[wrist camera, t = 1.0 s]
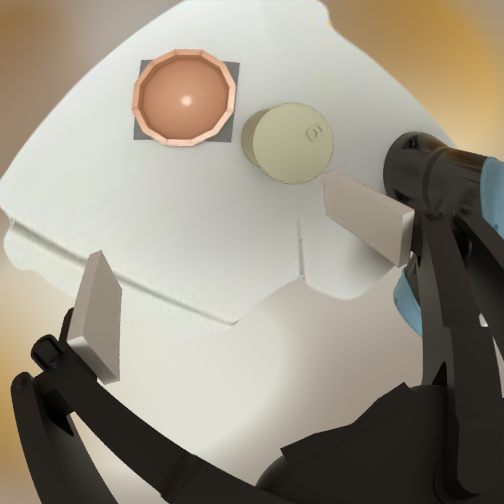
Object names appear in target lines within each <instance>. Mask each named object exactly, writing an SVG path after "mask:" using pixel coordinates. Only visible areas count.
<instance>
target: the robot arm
mask: <svg viewBox="0 0 504 504" xmlns="http://www.w3.org/2000/svg"><path fill="white" fill-rule="evenodd" d="M322 178H323V187H324V196H325V206H326V215H327V216H328V217H330V218H331V219H332V220H334V221H335V222H337V223H338V224H340V225H341V226H343V227H344V228H345V229H347V230H348V231H350V232H351V233H352V234H354V235H355V236H357V237H358V238H359V239H361V240H362V241H363V242H365V243H366V244H368V245H369V246H370V247H372V248H373V249H374V250H376V251H377V252H378V253H380V254H381V255H382V256H384V257H385V258H386V259H388V260H389V261H390V262H392V263H393V264H394V265H396V266H397V267H398V268H399V267H401V266H402V265H405V264H407V263H408V264H407V266H406V267H404V269H403V271H402V275H401V277H400V279H399V281H398V283H397V285H396V287H395V289H394V293H393V298H394V303H395V305H396V307H397V309H398V311H399V313H400V314H401V316H402V317H403V319H404V320H405V321H406V322H407V323H408V325H409V326H410V327H411V328H412V329H413V330H414V331H415V332H416V333H417V334H419V335H420V336H421V337H422V339H423V378H422V384H421V385H420V386H415V387H411V388H409V387H408V386H407V385H406V384H405V383H404V382H403V383H402V384H400V385H399V386H398V387H396V388H394V389H393V390H391V391H390V392H388V393H387V394H385V395H383V396H382V397H380V398H379V399H377V400H376V401H375V402H374V403H373V404H372V406H370V407H369V408H368V409H367V410H366V411H365V412H364V413H363V414H362V415H361V416H360V417H359V418H358V419H357V420H356V421H355V422H354V423H352V424H350V425H347V426H343V427H339V428H336V429H332V430H328V431H323V432H319V433H315V434H312V435H310V436H308V437H306V438H304V439H301V440H299V441H297V442H295V443H292V444H290V445H287V446H285V447H283V448H280V449H281V452H282V454H283V455H282V456H281V457H280V458H278V459H277V460H276V461H274V462H273V463H272V464H271V465H270V466H269V467H268V468H267V469H266V470H265V472H264V473H263V474H262V475H261V477H260V478H259V480H258V482H257V484H256V486H252V485H250V484H248V483H246V482H244V481H242V480H240V479H238V478H236V477H234V476H232V475H230V474H228V473H226V472H225V471H222V470H221V469H219V468H217V467H215V466H214V465H212V464H210V463H208V462H206V461H205V460H203V459H201V458H199V457H198V456H196V455H194V454H191V453H189V452H188V451H186V450H185V449H183V448H181V447H180V446H178V445H177V444H175V443H174V442H172V441H171V440H169V439H168V438H167V437H165V436H164V435H162V434H161V433H159V432H158V431H157V430H155V429H154V428H152V427H151V426H150V425H148V424H147V423H146V422H144V421H143V420H142V419H140V418H139V417H138V416H137V415H135V414H134V413H133V412H132V411H130V410H129V409H128V408H127V407H125V406H124V405H123V404H122V403H120V402H119V401H118V400H117V399H116V398H115V397H113V396H112V395H111V394H110V393H109V392H108V391H107V390H105V389H104V388H103V387H102V386H101V385H100V384H99V383H98V382H97V377H98V378H99V379H100V380H101V381H102V382H103V384H105V385H106V384H109V383H113V382H117V381H120V375H119V374H120V371H119V345H120V344H119V343H120V342H119V341H120V314H121V297H122V288H121V287H120V285H119V283H118V281H117V279H116V278H115V276H114V274H113V272H112V270H111V268H110V266H109V264H108V262H107V260H106V259H105V257H104V255H103V253H102V251H101V250H100V251H98V252H95V253H93V254H90V255H89V258H88V261H87V264H86V267H85V271H84V274H83V277H82V281H81V284H80V288H79V291H78V295H77V298H76V302H75V306H74V307H73V308H71V309H69V311H68V312H67V314H66V315H65V317H64V321H63V324H62V325H63V326H62V328H61V333H60V337H59V341H57V339H56V338H55V337H54V336H53V335H51V334H49V335H45V336H43V337H41V338H40V339H39V340H37V342H36V343H35V344H34V346H33V348H32V350H31V358H32V359H33V360H34V361H35V363H37V365H38V366H39V367H40V368H41V369H42V370H43V371H44V372H42V373H41V374H39V375H38V376H36V377H34V378H33V377H32V376H31V375H30V374H29V373H28V372H22V373H20V374H18V375H17V376H16V377H15V378H14V380H13V382H12V385H11V397H12V403H13V409H14V414H15V419H16V423H17V428H18V432H19V436H20V440H21V444H22V448H23V452H24V455H25V458H26V462H27V465H28V468H29V471H30V474H31V477H32V480H33V482H34V485H35V488H36V490H37V493H38V496H39V498H40V500H41V503H42V504H118V503H117V501H116V500H115V498H114V497H113V495H112V494H111V492H110V491H109V489H108V487H107V486H106V484H105V482H104V481H103V479H102V477H101V476H100V474H99V472H98V471H97V469H96V467H95V465H94V463H93V461H92V460H91V458H90V456H89V454H88V452H87V450H86V448H85V446H84V444H83V442H82V440H81V438H80V436H79V434H78V432H77V429H76V427H75V425H74V423H73V420H72V418H71V416H70V413H72V412H74V411H75V412H76V413H77V415H78V416H79V417H80V418H81V419H82V421H83V422H84V423H85V424H86V425H87V426H88V427H89V428H90V429H91V431H92V432H94V434H95V435H96V436H97V437H98V438H99V439H100V440H101V441H102V442H103V443H104V444H105V445H106V446H107V447H108V448H109V449H110V450H111V451H112V452H113V453H114V454H115V455H116V456H117V457H118V458H119V459H121V460H122V461H123V462H124V463H125V464H126V465H127V466H128V467H129V468H130V469H132V470H133V471H134V472H135V473H136V474H137V475H139V476H140V477H141V478H142V479H143V480H145V481H146V482H147V483H149V484H150V485H151V486H152V487H153V488H155V489H156V490H157V491H158V492H159V493H160V494H161V497H162V498H163V499H164V500H165V501H166V502H168V503H169V504H504V398H502V391H501V383H500V375H499V368H498V366H499V367H500V368H502V369H503V370H504V162H502V161H499V160H498V159H496V158H494V157H487V156H483V155H479V154H475V153H471V152H466V151H462V150H457V149H453V148H450V147H448V146H447V145H446V144H444V143H443V142H441V141H440V140H438V139H437V138H435V137H434V136H432V135H430V134H427V133H421V132H410V133H406V134H404V135H402V136H401V137H400V138H398V139H397V140H396V141H395V142H394V144H393V145H392V146H391V148H390V150H389V152H388V154H387V157H386V160H385V165H384V184H385V188H386V192H387V194H388V195H384V194H382V193H380V192H378V191H376V190H374V189H372V188H369V187H367V186H365V185H363V184H361V183H359V182H356V181H354V180H352V179H350V178H348V177H345V176H343V175H341V174H338V173H336V172H334V171H331V172H327V173H324V174H322ZM411 251H412V252H413V255H412V257H411V259H410V253H411Z"/></svg>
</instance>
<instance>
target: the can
mask: <svg viewBox="0 0 504 504" xmlns="http://www.w3.org/2000/svg"><path fill="white" fill-rule="evenodd" d="M241 145H242V149H243V151H244V153H245V155H246V157H247V158H248V159H249V161H250V162H252V163H253V164H254V165H256V166H257V167H259V168H261V169H262V170H263V171H264V172H265V173H266V174H267V175H268V176H270V177H271V178H273V179H274V180H276V181H279V182H282V183H286V184H301V183H305V182H308V181H310V180H312V179H314V178H316V177H317V176H318V175H320V174H321V173H322V172H323V171H324V169H325V168H326V167H327V165H328V164H329V162H330V159H331V156H332V153H333V135H332V132H331V129H330V127H329V125H328V123H327V121H326V120H325V119H324V117H323V116H322V115H321V114H320V113H319V112H317V111H316V110H314V109H313V108H311V107H309V106H306V105H303V104H298V103H286V104H282V105H279V106H276V107H274V108H272V109H266V110H262V111H259V112H257V113H256V114H254V115H253V116H252V117H250V118H249V120H248V121H247V122H246V124H245V125H244V127H243V130H242V134H241Z"/></svg>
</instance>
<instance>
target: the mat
mask: <svg viewBox="0 0 504 504" xmlns="http://www.w3.org/2000/svg"><path fill="white" fill-rule="evenodd" d="M151 61H153V60H141V66H140V74H139V76H140V75H141V74H142V72H143V71H144V69H145V68H146V67H147V65H148V64H149V63H150V62H151ZM222 62H223V63H225V65H226V67H227V69H228V71H229V73H230V75H231V77H232V79H233V81H234V83H235V85H236V89H237V81H238V72H239V64H240V63H236V62H225V61H222ZM235 98H236V91H235ZM234 107H235V100H234ZM233 117H234V109H233V113H232V114H231V116H230V117H229V118H228V120H227V121H226V122H225V124H224V125H223V126H222V128H221V129H220V130H219V132H218V133H217V134H216V135H214V136H211V137H209V138H207V139H205V140H203V141H218V142H231V136H232V126H233ZM135 139H154V138H152V137H151V136H149V135H147V134H146V133H144V132H143V131H142V129H141V127H140V125H139V123H138V121H137V119H136V117H135V124H134V140H135Z"/></svg>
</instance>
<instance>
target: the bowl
mask: <svg viewBox="0 0 504 504" xmlns="http://www.w3.org/2000/svg"><path fill="white" fill-rule="evenodd" d="M235 91H236V85H235V83H234V81H233V79H232V77H231V75H230V73H229V71H228V69H227V67H226V65H225V63H223V62H222V61H220V60H218V59H217V58H215V57H214V56H212V55H210V54H208V53H207V52H205V51H203V50H188V49H175V50H173V51H171V52H169V53H166V54H164V55H162V56H160V57H158V58H157V59H155V60H153V61H151V62H150V63H149V64H148V65H147V67H146V68H145V69H144V71H143V72H142V74H141V75H140V76H139V78H138V79H137V81H136V82H135V84H134V91H133V101H132V111H133V113H134V115H135V117H136V119H137V121H138V123H139V125H140V127H141V129H142V131H143V132H144V133H146V134H147V135H149V136H151V137H152V138H154V139H155V140H157V141H159V142H160V143H162V144H164V145H176V146H193V145H195V144H197V143H199V142H201V141H203V140H205V139H207V138H209V137H211V136H214V135H216V134H217V133H218V132H219V130H220V129H221V128H222V126H223V125H224V124H225V122H226V121H227V120H228V118H229V117H230V116H231V114H232V113H233V109H234V100H235Z"/></svg>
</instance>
